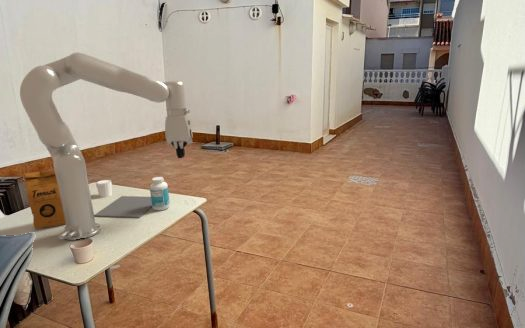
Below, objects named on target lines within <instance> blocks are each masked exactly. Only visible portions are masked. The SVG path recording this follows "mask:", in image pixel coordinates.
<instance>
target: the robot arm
mask: <svg viewBox="0 0 525 328" xmlns="http://www.w3.org/2000/svg"><path fill="white" fill-rule="evenodd" d="M78 80H83V81H85V82H88V83H90V84H91V83H92V84H94V85H97V86H101V87H103V88H107V89H109V90H113V91H116V92H121V93H125V94H131V95H133V96H137V97H139V98H143V99H146V100H148V101H150V102H153V103H154V102H155V103H163V102H165V107H166V116H165V123H164V133H165V140H166V144H169V145H172V147H174V149H175V153H176V154H175V155H176V156H177V159H183V158H184V157H185V155H186V152H185V148H186V146H187V145H190V144H192V143H193V128H192V123H191V119H190V117H189V115H187V114H189V113H190V109H187V106H186V95H185V87H184V85H185V84H184V82H183V81H181V80H168V81H164V82H163V81H160V80H156V79H154V78H151V77H148V76H146V75H142V74H140V73H137V72H134V71H131V70H129V69H127V68H124V67H121V66H119V65H116V64H113V63H111V62H107V61H106V60H105V61H104V60H103V59H102V60H101V59H99V58H96V57H94V56H90V55H88V54H86V53H81V52H73V53H71V54H70V55H68V56H65V57H62V58H60V59H57V60H54V61H52V62H50V63H47V64H43V65H37V66H35V67H34V68H32V69H31V70H30V71H29V72H28V73H27V74H25V76H24V78H23V80H22V82H21V84H20V86H19V87H20V89H19V97H20V101H21V104H22V106H23V109H24V111H25V112H26V114H27V117H28V118H29V120H30V122H31V124H32V126H33V127H34V129H35V132H36V133H37V136H38V139H39V141H40V142H41V143H42V144H43V146H45V147H46V149H47V151H48V153H49V155H50V156H51V157H50V158H52V160H53V170H55V175H56V179H57V184H58V188H59V194H60V198H61V203H62V208H63V213H64V218H65V223H66V224H65V226H64V230H63V232H61V233H60V234H58V239H59V240H64V239H65V240H68V241H77V240H76V239H80V238H85V239H88V238H90V237H93V236H95V235H97V234H98V233H99V232H100V231H101V230H102V229H101V228H102V227H101V225H100V223H97V222H96V219H95V218H96V217H94V215H95V213H94V208H93V202H92V195H91V190H90V183H89V179H88V173H87V164H86V160H85V157H84V155H83V153H82V151H81V149H80V147H79V146H78V143H77V142H76V140H75V138H74V136H73V134H72V131H71V130H70V128H69V126H68V125H67V123H66V122H65V121H64V120H63V119H62V117H61V115H60V113H59V111H58V109H57V106H56V104H55V102H54V101H53V92H55V91H56V90H57V89H59V88H62V87H64V86H68V85H69V84H72V83H74V82H76V81H78ZM87 237H88V238H87ZM80 240H81V239H80Z"/></svg>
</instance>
